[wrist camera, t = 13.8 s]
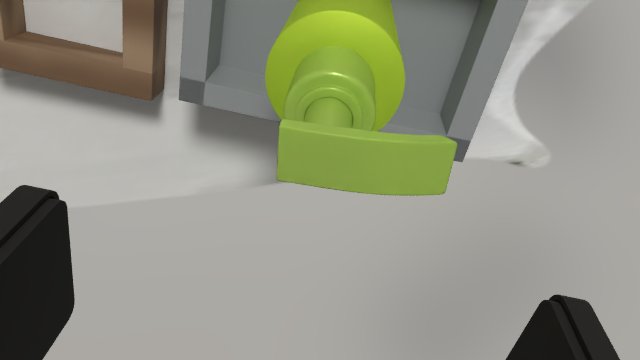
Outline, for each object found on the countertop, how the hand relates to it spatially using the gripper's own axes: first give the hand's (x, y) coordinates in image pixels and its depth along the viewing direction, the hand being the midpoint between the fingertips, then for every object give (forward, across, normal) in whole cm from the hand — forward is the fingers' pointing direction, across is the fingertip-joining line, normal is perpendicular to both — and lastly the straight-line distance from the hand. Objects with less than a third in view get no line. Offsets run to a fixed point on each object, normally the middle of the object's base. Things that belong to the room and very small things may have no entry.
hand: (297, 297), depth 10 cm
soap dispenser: (+26, -1, 0) cm, 26 cm away
